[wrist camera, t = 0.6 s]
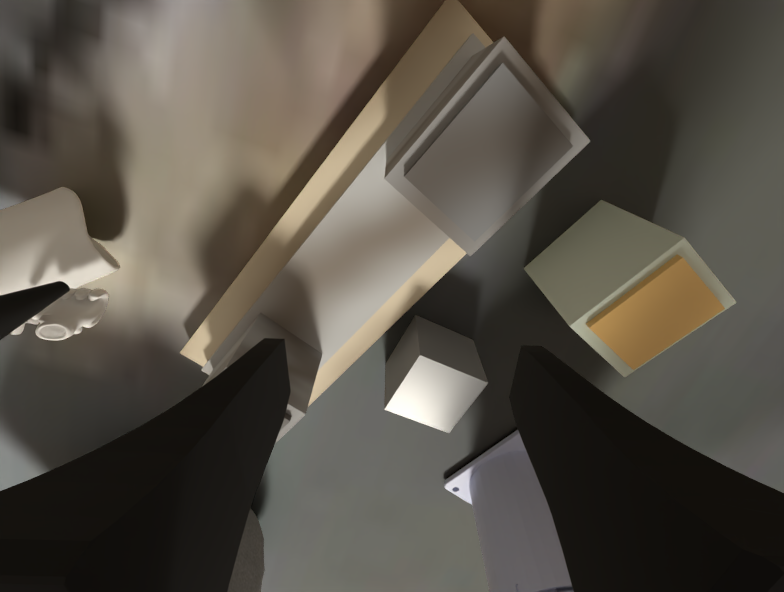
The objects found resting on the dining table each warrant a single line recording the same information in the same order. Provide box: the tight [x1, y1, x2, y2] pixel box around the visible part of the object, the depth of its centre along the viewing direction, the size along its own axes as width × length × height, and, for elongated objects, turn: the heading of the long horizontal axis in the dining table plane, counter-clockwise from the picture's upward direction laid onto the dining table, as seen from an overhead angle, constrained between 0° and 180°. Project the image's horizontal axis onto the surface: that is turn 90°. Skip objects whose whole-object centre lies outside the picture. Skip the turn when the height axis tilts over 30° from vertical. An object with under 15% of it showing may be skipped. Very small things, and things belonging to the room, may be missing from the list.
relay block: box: [385, 315, 488, 433], centre depth 21 cm, size 4×4×4 cm
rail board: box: [180, 0, 590, 443], centre depth 17 cm, size 8×22×7 cm, turn 139°
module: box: [523, 200, 736, 378], centre depth 17 cm, size 4×5×6 cm
